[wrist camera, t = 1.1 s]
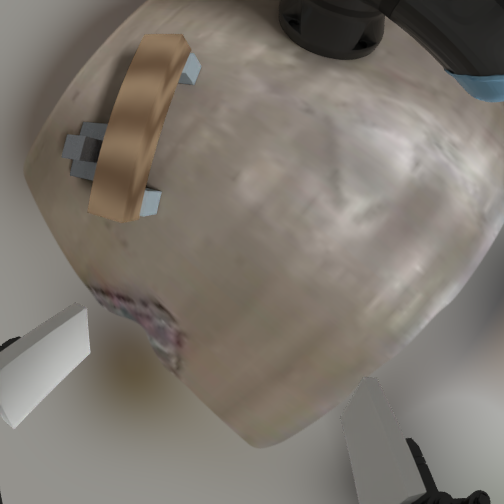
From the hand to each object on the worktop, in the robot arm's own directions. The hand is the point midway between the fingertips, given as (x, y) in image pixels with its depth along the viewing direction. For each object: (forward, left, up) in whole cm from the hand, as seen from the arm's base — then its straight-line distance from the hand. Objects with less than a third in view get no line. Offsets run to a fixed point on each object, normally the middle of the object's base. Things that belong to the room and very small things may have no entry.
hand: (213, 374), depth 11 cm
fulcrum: (-9, -24, -24) cm, 35 cm away
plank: (-13, -16, -20) cm, 28 cm away
